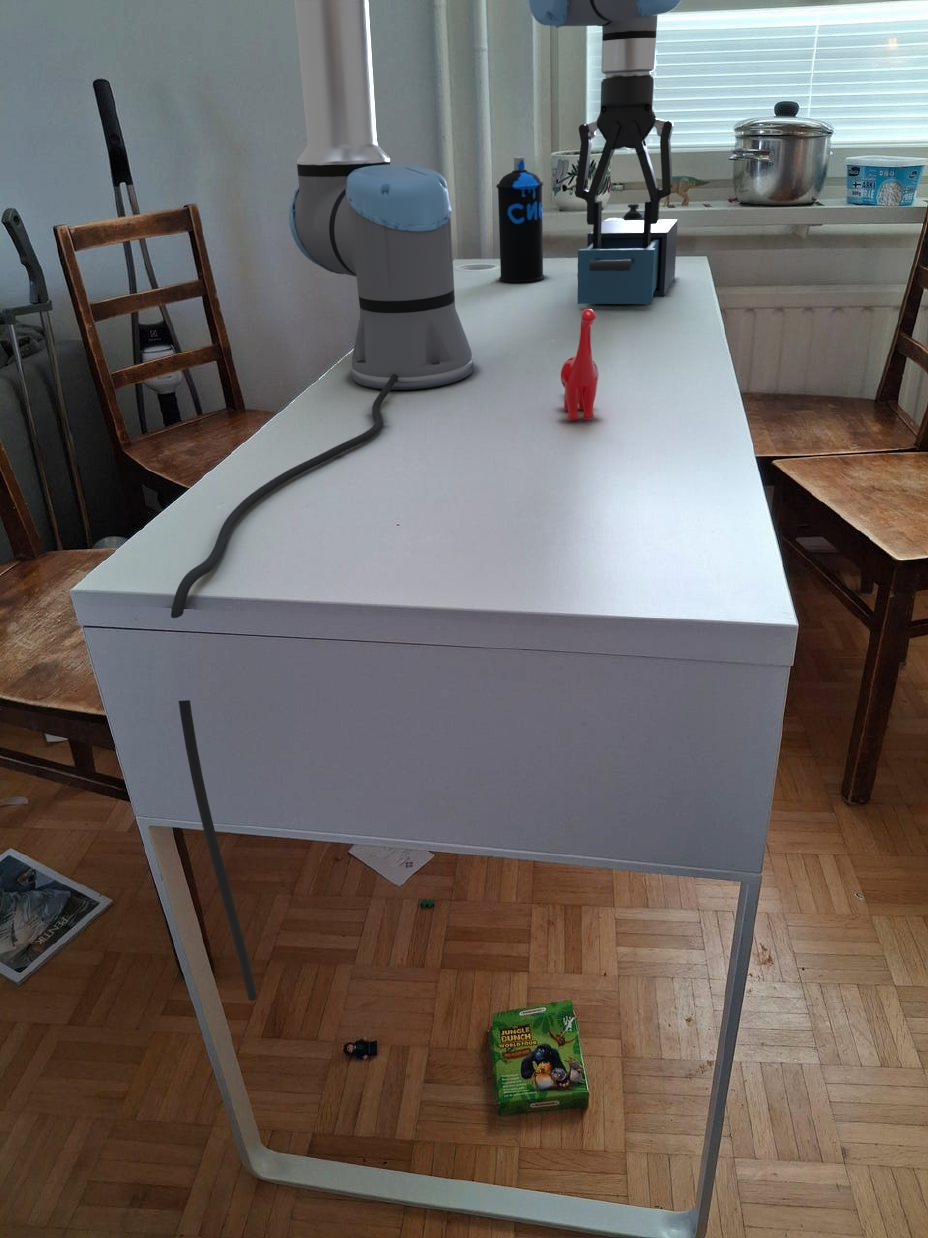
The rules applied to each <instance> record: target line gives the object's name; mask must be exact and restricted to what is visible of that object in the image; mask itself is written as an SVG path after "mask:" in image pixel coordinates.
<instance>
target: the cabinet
mask: <svg viewBox="0 0 928 1238" xmlns="http://www.w3.org/2000/svg"><path fill="white" fill-rule="evenodd" d="M678 221H679V219H676V218H675V219H659V220H658V222H657V224H651V238H661V243H660V264H659V285H658V286H657V288H656V289H655V291H654V292H653V297H665V295H666V293H667V292H668V290H669V289H670V287H671V285H672V284H673V282H674V280H675V278H676V277H675V275H676V258H677V239H678V223H679V222H678ZM601 222H602V223H601V238H643V232H644V220H620V221H604V220H603V221H601ZM592 243H593V229H591V230H590V231H589V232H587V244H586V245H587V247H586V248H588V247H589V246H590V245H591V244H592Z"/></svg>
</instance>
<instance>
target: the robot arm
mask: <svg viewBox="0 0 928 1238" xmlns="http://www.w3.org/2000/svg"><path fill="white" fill-rule="evenodd" d="M682 1H683V0H528V4H529V9H530V12H531V14H532V16H533V18H534V20H535V21H536V22H537V23H539V24H540V25H543V26H549V27H555V28H556V29H559V28H560V27H561V28H562V27H594V26H595V27H601V30H602V31H601V34H602V35H601V38H602V39H601V41H602V42H601V71H600V73H602V74H603V75H605V78H603V79H602V80H601V82H600V111H599V115H598V117H597V119H596V121H593V122H590V123H582V124H580V125H579V126H578V135H579V140H580V148H579V156H578V164H577V174H576V182H575V190H574V195H575V198H578V199H582V200H584V201H585V202H586V223H587V225H588V226H590V225H591V226H593V227H592V230H593V249H598V248H599V247H601V222H603V221H602V218H603V217H602V216H603V214H602V213H603V201H602V200H597V199H598V197H599V193H600V191H601V189H602V185H603V183H604V180H605V177H606V174H607V171H608V169H609V166H610V163H611V161H612V157H613V156H614V154H615V150H620V149H623V148H627V149H634V150H635V153H636V156H637V158H638V162H639V166H640V168H641V172H642V176H643V178H644V182H645V186H646V189H647V192H648V196H649V199H647V200H646V201H644V210H643V211H644V232H643V248H647V247H648V246H649V245H650V238H651V224H657V222H658V220H660V205H661V204H660V202H661V200H662V199H663V198H666V197H669V196H670V195H672V193H673V192H674V191H673V190H674V186H673V185H674V183H673V167H672V147H671V146H672V145H671V138H672V134H673V130H674V126H675V124H674V121H673V120H664V119H660V118H657V117H656V115H655V112H654V111H655V110H654V98H655V97H654V95H655V78H654V76H652V74H651V72H654V71H655V70H656V54H657V32H658V31H657V30H658V16H659V15H663V14H664V15H665V14H668V13H671V12H672V11H674V10H675V9H676V8H677V7H678V6H679V5H680V4H681V2H682ZM293 2H294V13H295V23H296V33H297V43H298V56H299V66H300V76H301V87H302V99H303V107H304V108H303V109H304V121H305V133H306V142H307V143H306V148H305V149H304V151H303V152H301V154H300V156H299V157H298V158H297V159H296V168H297V169H296V170H297V180H298V186H297V188H296V189H295V191H294V193H293V194H292V196H291V199H290V202H289V209H288V222H289V227H290V233H291V236H292V238H293V241H294V242H295V244H296V246H297V247H298V249H299V250H300V252H301V253H302V254H303V255H304V256H305V257H306V258H307V259H308V260H309V261H311V262H312V263H313V264H315V265H317V266H319V267H320V268H322V269H325V270H326V271H327V272H330V273H334V274H338V275H346V276H347V275H348V276H350V277H351V276H352V277H355V278H356V285H357V295H358V304H359V320H358V325H357V331H356V336H355V341H354V345H353V350H352V356H351V365H350V368H351V376H352V380H353V381H354V382H355V383H357V384H358V385H360V386H362V387H363V386H364V387H367V388H372V389H378V390H380V392H379V393H378V395H377V396H376V397H375V400H374V401H373V403H372V407H371V412H372V416H373V418H374V420H375V423H374V424H373V425H372V427H370V428H369V429H367V430H366V431H364V432H363V433H361V434H359V435H357V436H355V437H353V438H351V439H349V440H347V441H345V442H342V443H340V444H338V445H336V446H334V447H331V448H330V449H328V450H326V451H324V452H321V453H320V454H319V455H316V456H314V457H312V458H310V459H308V460H306V461H304V462H302V463H300V464H298V465H296V466H293V467H291V468H289V469H288V470H286V471H284V472H282V473H281V474H279V475H277V476H275V477H273V478H272V479H271V480H269V481H268V482H266V483H265V484H263V485H262V486H260V487H258V489H255V491H253V492H252V493H251V494H249V495H248V496H247V497H246V498H244V499H242V501H241V502H240V503H239V504H238V505H237V506H236V507H235V508H234V509H233V510H232V511H231V513H230V514H229V515H228V516H227V517H226V519H225V521H224V522H223V524H222V525H221V528H220V530H219V533H218V535H217V539H216V540H215V544H214V546H213V549H212V551H211V553H210V554H209V555H208V557H207V558H206V559H205V560H204V561H202V563H200V564H198V565H196V566H194V568H191V570H189V571H188V572H187V573H186V574H185V575H184V577H183V578H181V581H180V583H179V584H178V587H177V589H176V591H175V595H174V598H173V602H172V606H171V611H170V617H171V618H172V619H177V618H180V617H182V616H183V615H184V612H185V607H186V601H187V598H188V595H189V592H190V590H191V588H192V587H193V585H194V584H195V583H196V582H197V581H198V580H199V579H201V578H202V577H203V576H205V575H206V574H208V573H209V572H211V571H212V570H213V569H214V568H215V567H216V565H217V564H218V563H219V561H220V560H221V558H222V556H223V554H224V552H225V550H226V547H227V544H228V541H229V538H230V534H231V532H232V530H233V528H234V527H235V525H236V523H237V522H238V521H239V520H240V519H241V517H243V515H244V514H246V512H247V511H248V510H249V509H250V508H252V506H253V505H256V503H257V502H258V501H260V500H261V499H263V498H264V497H265V496H267V495H268V494H269V493H271V492H272V491H274V490H275V489H277V488H278V487H280V486H282V485H284V484H285V483H287V482H288V481H290V480H292V479H293V478H295V477H297V476H299V475H301V474H303V473H305V472H307V471H309V470H311V469H313V468H315V467H317V466H319V465H321V464H323V463H325V462H327V461H329V460H331V459H333V458H334V457H336V456H338V455H340V454H343V453H344V452H347V451H348V450H350V449H353V448H355V447H357V446H359V445H361V444H363V443H366V442H367V441H369V440H370V439H372V438H373V437H375V436H376V435H377V434H378V433H379V432H380V431H381V429H382V428H383V426H384V418H383V415H382V414H381V411H380V410H381V409H380V408H381V405H382V403H383V402H384V400H385V399H386V397H387V396H388V394H389V393H390V391H399V390H400V391H403V390H420V389H428V388H435V387H441V386H446V385H449V384H452V383H455V382H459V381H461V380H463V379H465V378H467V377H469V376H470V375H471V374H472V373H473V371H474V356H473V352H472V348H471V346H470V344H469V340H468V338H467V334H466V333H465V330H464V327H463V324H462V322H461V319H460V316H459V314H458V311H457V308H456V307H457V306H456V296H455V294H456V293H455V276H454V275H455V274H454V258H453V241H452V240H453V239H452V238H453V237H452V220H451V218H452V213H453V211H452V205H451V200H450V194H449V189H448V188H449V187H448V183H447V181H446V179H445V178H444V176H443V175H441V174H440V173H439V171H435V170H433V169H431V168H427V167H422V166H418V165H403V164H391V157H390V156H389V155H388V154H387V153H386V152H385V151H384V150H383V149H382V147H380V145H379V144H378V141H377V139H378V138H377V123H376V106H375V105H376V103H375V89H374V73H373V71H374V70H373V57H372V38H371V25H370V24H371V22H370V20H371V19H370V4H369V0H294V1H293ZM653 128H655V129H656V135H657V136H658V137H659V138H660V139H659V148H660V149H659V150H660V170H661V171H660V172H661V187H662V188H659V185H658V181H657V178H656V174H655V171H654V168H653V164H652V160H651V158H650V154H649V148H648V146H647V142H646V139H647V137H648V136H649V134H650V133H651V132H652V130H653ZM597 130H598V131H599V132H600V134H601V136H602V137H603V139H604V142H605V143H604V146H603V148H602V151H601V154H600V158H599V161H598V164H597V167H596V169H595V172H594V175H593V178H592V181H591V184H590V186H589V189H587V186H588V179H589V170H590V162H591V156H592V155H591V154H592V146H593V139H594V138H596V133H597ZM178 707H179V716H180V721H181V726H182V735H183V739H184V746H185V751H186V755H187V762H188V766H189V772H190V776H191V777H190V778H191V782H192V785H193V791H194V796H195V799H196V804H197V808H198V812H199V816H200V821H201V826H202V829H203V833H204V837H205V842H206V844H207V845H206V846H207V848H208V853H209V856H210V860H211V863H212V868H213V871H214V874H215V877H216V881H217V885H218V889H219V892H220V896H221V899H222V903H223V906H224V910H225V914H226V918H227V921H228V925H229V928H230V932H231V936H232V940H233V943H234V948H235V951H236V956H237V959H238V963H239V966H240V970H241V975H242V978H243V983H244V987H245V991H246V995H247V996H246V997H247V1000H248V1001H250V1002H254V1001H256V1000H257V998H258V994H257V989H256V984H255V981H254V976H253V972H252V968H251V967H252V966H251V963H250V960H249V955H248V951H247V948H246V947H247V946H246V943H245V939H244V936H243V932H242V928H241V925H240V920H239V916H238V914H237V910H236V906H235V903H234V899H233V898H234V897H233V895H232V890H231V888H230V884H229V880H228V877H227V873H226V869H225V865H224V861H223V858H222V853H221V849H220V846H219V841H218V837H217V833H216V830H215V825H214V821H213V817H212V812H211V808H210V805H209V799H208V795H207V791H206V786H205V785H206V784H205V780H204V776H203V770H202V766H201V760H200V755H199V749H198V744H197V738H196V732H195V725H194V718H193V712H192V704H191V699H187V700H185V699H184V700H178Z"/></svg>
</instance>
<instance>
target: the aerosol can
mask: <svg viewBox="0 0 928 1238" xmlns="http://www.w3.org/2000/svg"><path fill="white" fill-rule="evenodd" d="M544 184H545V183H544V181H542V180H541V178H540V177H539V176H538V175H537V174H535V173H533V172H531V171H528V170H527V169H526V156H514V157H513V170H512V172H508V173H507V174H506V175H504V176H503V177H502V178H501V179H500V180H499V183H497V184H496V186H495V187H496V188H497V200H498V201H497V202H498V230H499V232H498V233H499V234H498V235H499V262H500V263H499V265H500V277H499V281H500V282H502V283H505V284H506V283H507V284H530V283H536V282H539V281H543V280H544V279H545V274H544V241H543V239H544V238H543V234H544V233H543V231H544V229H543V228H544V227H543V225H544V224H543V186H544Z"/></svg>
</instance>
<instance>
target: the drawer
mask: <svg viewBox="0 0 928 1238" xmlns="http://www.w3.org/2000/svg"><path fill="white" fill-rule="evenodd" d="M660 243H661V238H650V245H649V246H648V247H647V248H643V238H601V247H599V248H598V249H593V243H592V244H591V245H590V246H589V247H588V248H587V247H586V248H579V249H578V250H577V304H579V305H580V304H581V305H585V304H586V305H652V304H653V302H654V296H653V292H654V291H655V289H656V288H657V286H658V285H659V264H660Z"/></svg>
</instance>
